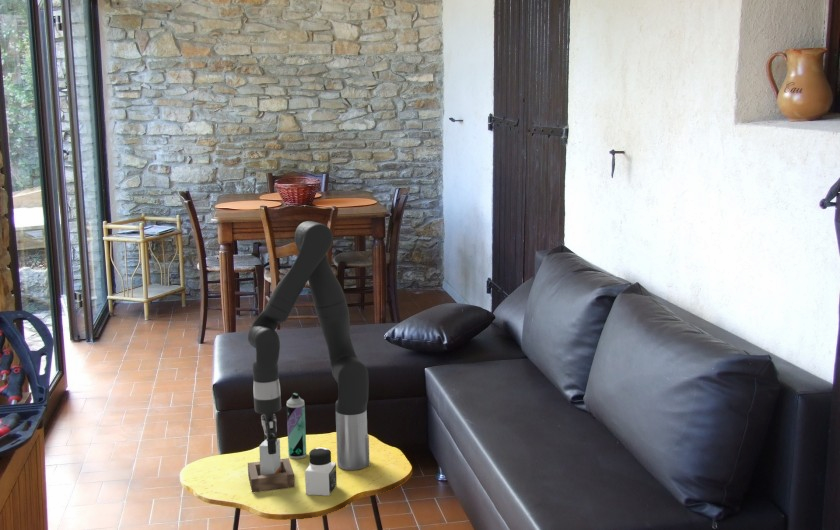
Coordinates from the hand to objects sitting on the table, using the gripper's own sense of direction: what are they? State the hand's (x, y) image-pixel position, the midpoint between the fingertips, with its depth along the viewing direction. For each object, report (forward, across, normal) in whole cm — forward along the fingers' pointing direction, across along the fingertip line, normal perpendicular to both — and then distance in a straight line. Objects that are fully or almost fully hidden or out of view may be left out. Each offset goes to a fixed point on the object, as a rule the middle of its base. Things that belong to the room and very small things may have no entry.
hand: (270, 448), depth 256 cm
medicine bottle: (+11, -10, -12) cm, 19 cm away
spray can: (+11, +17, -10) cm, 22 cm away
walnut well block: (+10, 0, 0) cm, 10 cm away
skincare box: (+10, 0, 0) cm, 10 cm away
